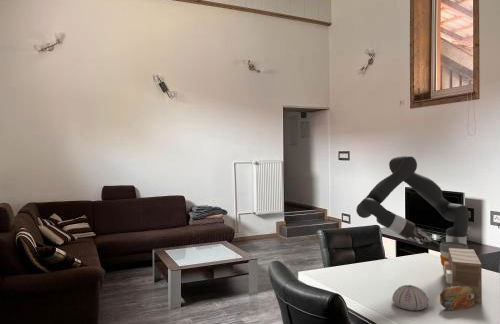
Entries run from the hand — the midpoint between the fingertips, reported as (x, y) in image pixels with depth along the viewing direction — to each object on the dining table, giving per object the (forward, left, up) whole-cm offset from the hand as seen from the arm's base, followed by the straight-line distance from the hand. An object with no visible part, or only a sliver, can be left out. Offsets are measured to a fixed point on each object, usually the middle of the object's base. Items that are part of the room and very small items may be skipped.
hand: (438, 246), depth 168 cm
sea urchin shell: (+21, -11, -20) cm, 31 cm away
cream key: (+4, +6, -14) cm, 16 cm away
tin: (+17, +6, -20) cm, 27 cm away
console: (-2, +10, -20) cm, 22 cm away
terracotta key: (-10, +7, -14) cm, 18 cm away
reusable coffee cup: (-26, +8, -20) cm, 34 cm away
